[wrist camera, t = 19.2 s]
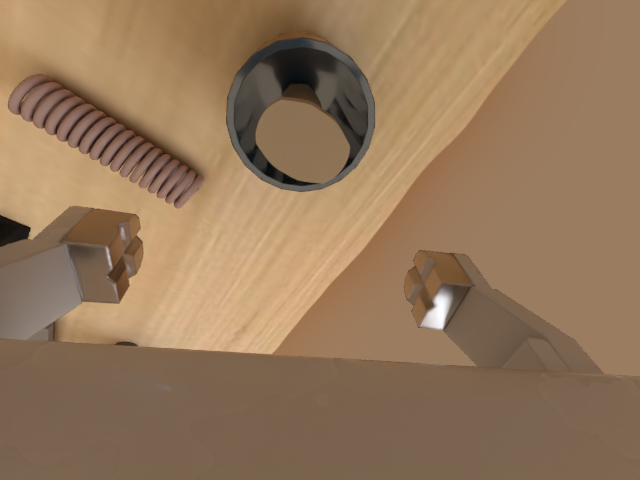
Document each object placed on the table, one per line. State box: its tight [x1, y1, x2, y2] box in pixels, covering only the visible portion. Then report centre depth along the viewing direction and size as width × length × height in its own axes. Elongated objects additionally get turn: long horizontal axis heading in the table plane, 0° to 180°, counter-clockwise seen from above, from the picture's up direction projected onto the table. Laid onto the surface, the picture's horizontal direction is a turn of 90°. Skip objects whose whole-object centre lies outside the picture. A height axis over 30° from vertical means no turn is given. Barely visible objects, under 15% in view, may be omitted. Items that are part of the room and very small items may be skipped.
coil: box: [8, 74, 204, 208], centre depth 34 cm, size 5×5×18 cm
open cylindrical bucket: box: [226, 31, 375, 192], centre depth 30 cm, size 12×12×11 cm
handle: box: [256, 83, 350, 184], centre depth 28 cm, size 5×6×15 cm
